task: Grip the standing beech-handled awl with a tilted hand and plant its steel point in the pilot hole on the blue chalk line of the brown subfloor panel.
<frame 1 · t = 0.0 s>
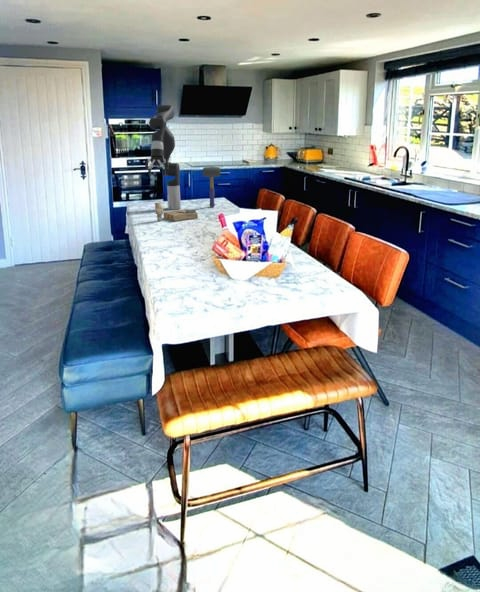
hand: (156, 175, 316), 31 cm above the table, tool tilted 20°, fingers open, 8 cm apart
subfloor panel: (180, 218, 348), on the table
rubber mallet: (212, 207, 386), on the table
stud finder: (190, 212, 347), point 4 cm above the table, touching subfloor panel
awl: (159, 221, 340), on the table
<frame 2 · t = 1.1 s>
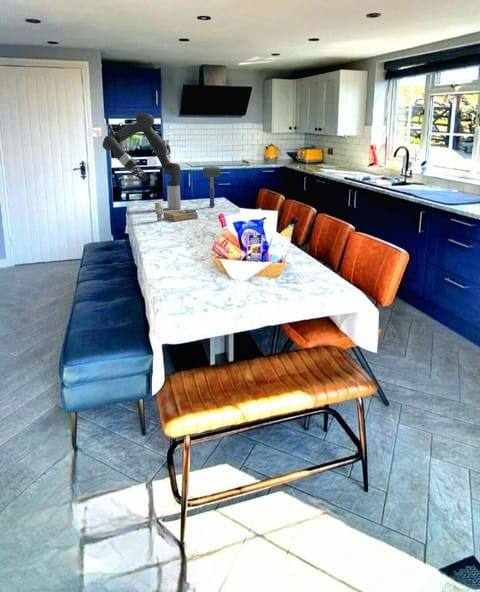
hand: (145, 180, 333), 27 cm above the table, tool tilted 45°, fingers open, 8 cm apart
nothing on the table moved.
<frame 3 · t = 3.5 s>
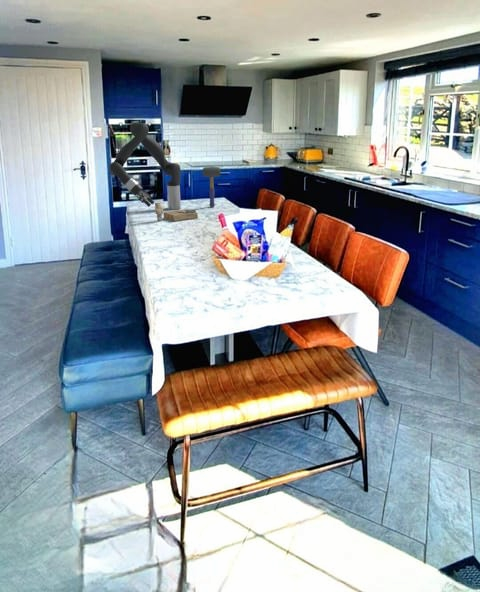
hand: (151, 204, 336), 11 cm above the table, tool tilted 45°, fingers open, 8 cm apart
nothing on the table moved.
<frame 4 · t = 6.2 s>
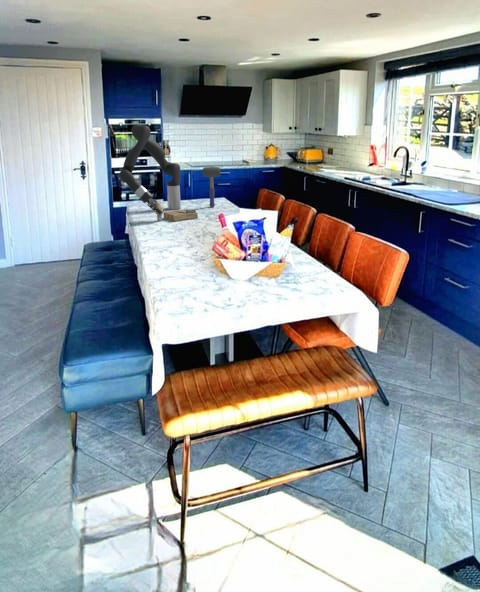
hand: (162, 212, 338), 6 cm above the table, tool tilted 45°, fingers closed on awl, 5 cm apart
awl: (159, 221, 340), on the table, touching gripper
everything else where it was.
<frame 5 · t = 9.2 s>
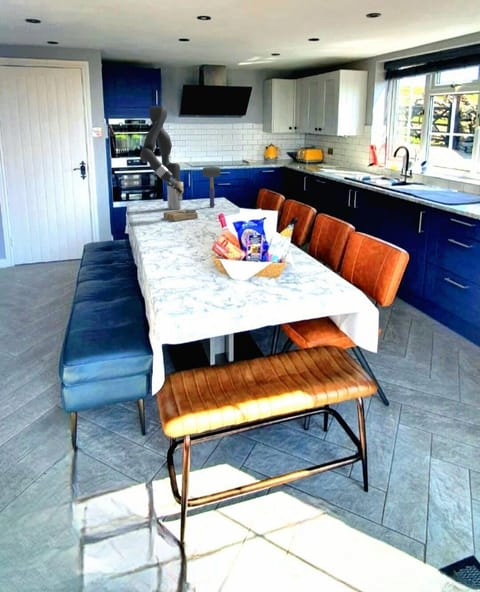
hand: (182, 191, 342), 18 cm above the table, tool tilted 45°, fingers closed on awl, 5 cm apart
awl: (179, 200, 344), point 12 cm above the table, touching gripper
everything else where it was.
when the fingers open (7 cm above the table, at t = 12.5 s): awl stays where it is, resting on subfloor panel.
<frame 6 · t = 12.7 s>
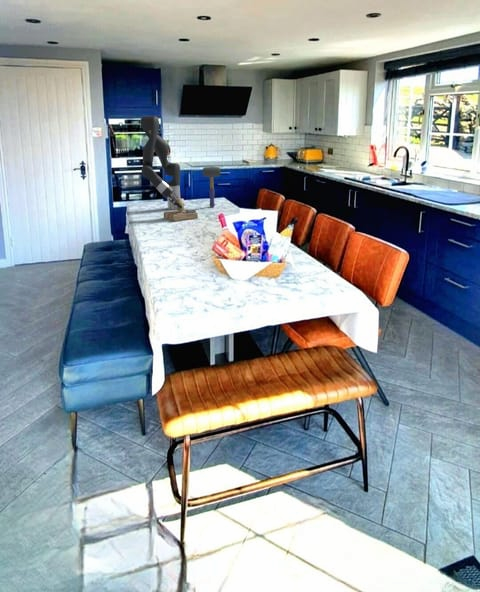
hand: (182, 207, 345), 8 cm above the table, tool tilted 45°, fingers open, 6 cm apart
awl: (180, 216, 348), point 1 cm above the table, touching subfloor panel
everything else where it was.
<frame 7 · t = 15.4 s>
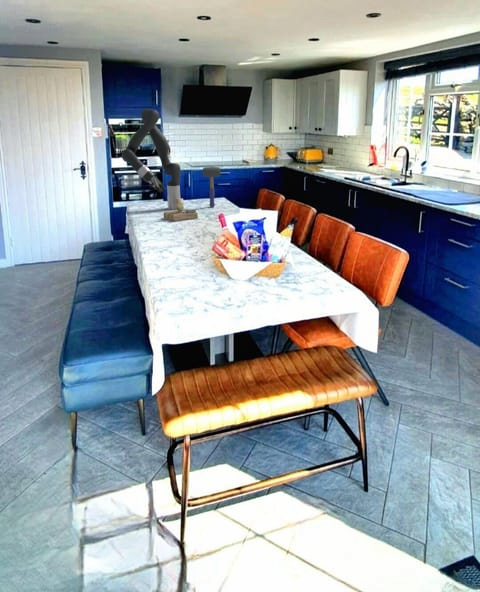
hand: (163, 191, 343), 18 cm above the table, tool tilted 45°, fingers open, 8 cm apart
nothing on the table moved.
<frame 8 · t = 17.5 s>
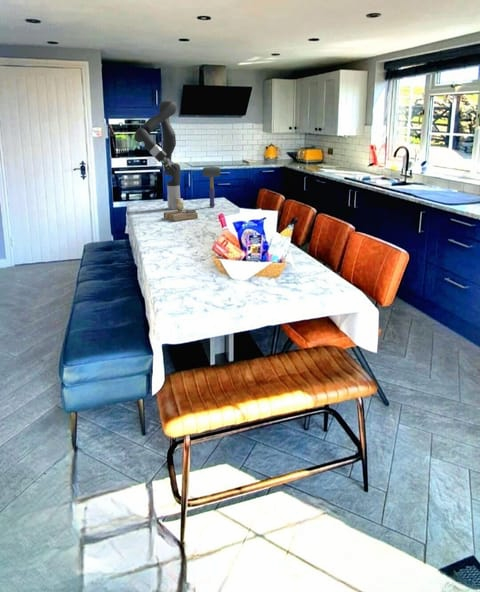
hand: (175, 170, 346), 31 cm above the table, tool tilted 45°, fingers open, 8 cm apart
nothing on the table moved.
at the end: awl 0.1 cm off-centre on the subfloor panel, point 1.1 cm above the subfloor panel's base; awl tilted 1°; the gripper is holding nothing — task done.
